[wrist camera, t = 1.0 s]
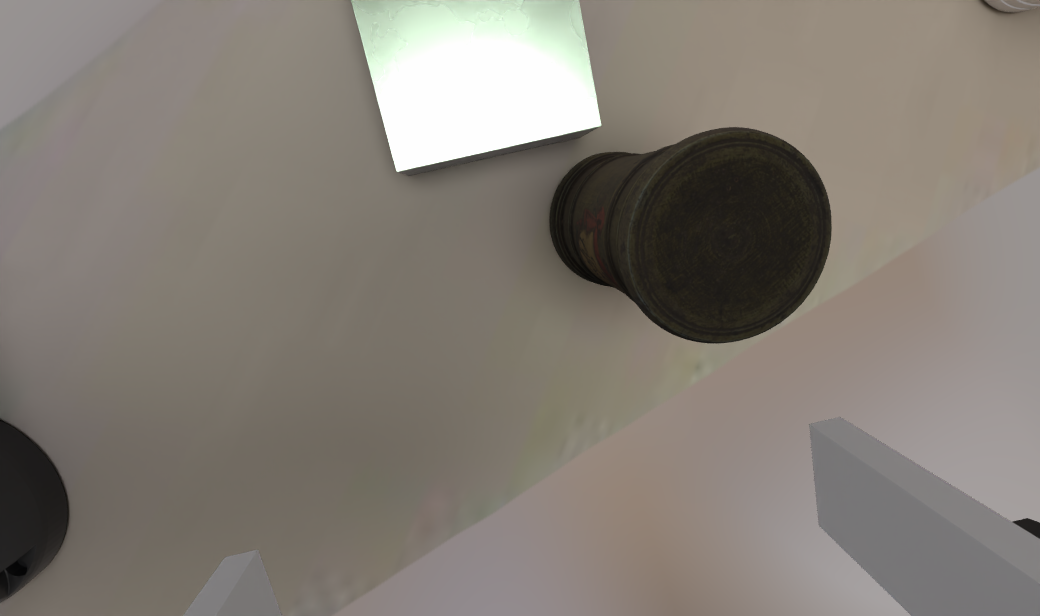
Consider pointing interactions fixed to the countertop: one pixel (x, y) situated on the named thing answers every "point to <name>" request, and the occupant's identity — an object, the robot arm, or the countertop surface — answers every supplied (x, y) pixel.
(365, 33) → the grey square box
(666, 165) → the container
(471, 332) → the countertop surface
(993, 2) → the water bottle
